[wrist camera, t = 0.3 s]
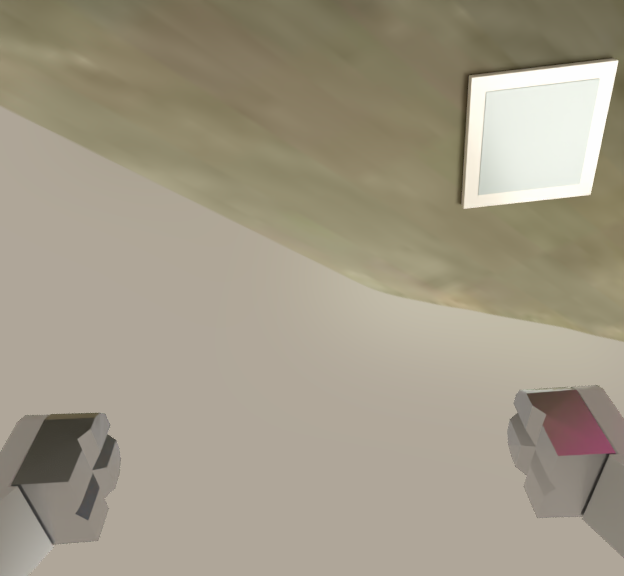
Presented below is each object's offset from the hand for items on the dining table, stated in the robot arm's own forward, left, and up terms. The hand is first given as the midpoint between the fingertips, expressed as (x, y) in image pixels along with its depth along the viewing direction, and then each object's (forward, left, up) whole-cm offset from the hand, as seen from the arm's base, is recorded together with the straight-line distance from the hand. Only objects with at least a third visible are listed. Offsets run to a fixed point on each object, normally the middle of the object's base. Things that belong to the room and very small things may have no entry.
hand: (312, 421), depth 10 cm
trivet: (+12, +23, -47) cm, 54 cm away
